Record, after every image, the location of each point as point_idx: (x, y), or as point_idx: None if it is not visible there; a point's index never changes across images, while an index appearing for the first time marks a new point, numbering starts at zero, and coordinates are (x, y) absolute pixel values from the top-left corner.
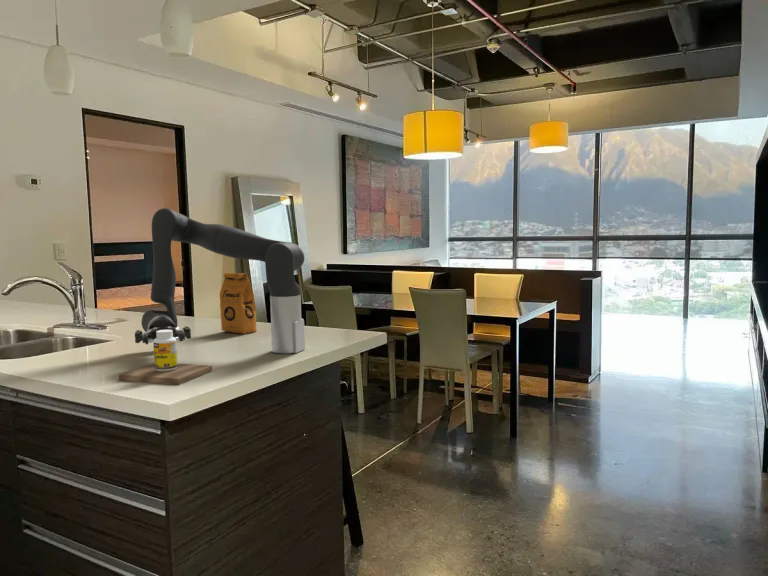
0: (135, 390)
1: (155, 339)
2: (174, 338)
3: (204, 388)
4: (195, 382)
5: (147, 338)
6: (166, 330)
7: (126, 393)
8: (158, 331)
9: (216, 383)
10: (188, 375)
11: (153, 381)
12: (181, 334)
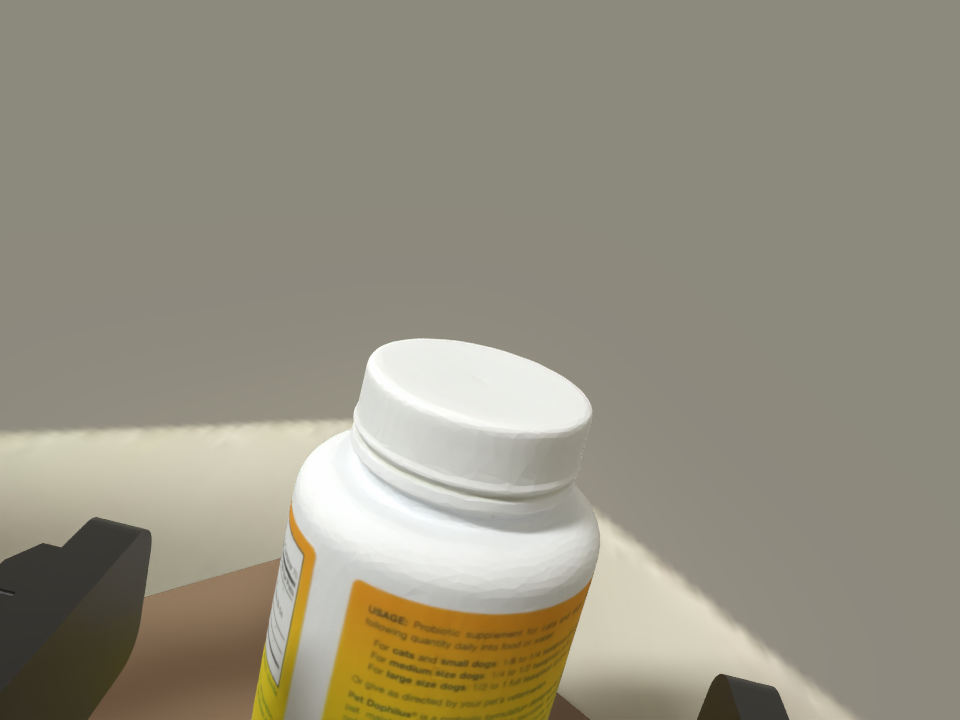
0: (634, 634)
1: (578, 491)
2: (341, 433)
3: (256, 459)
4: (235, 555)
5: (716, 693)
6: (450, 380)
7: (679, 616)
8: (563, 390)
9: (143, 477)
10: (262, 568)
11: None
12: (118, 529)
